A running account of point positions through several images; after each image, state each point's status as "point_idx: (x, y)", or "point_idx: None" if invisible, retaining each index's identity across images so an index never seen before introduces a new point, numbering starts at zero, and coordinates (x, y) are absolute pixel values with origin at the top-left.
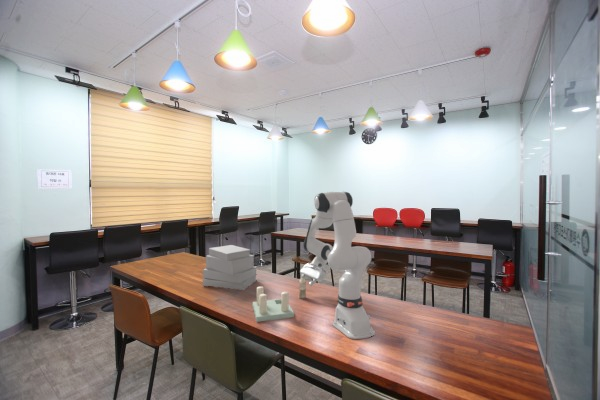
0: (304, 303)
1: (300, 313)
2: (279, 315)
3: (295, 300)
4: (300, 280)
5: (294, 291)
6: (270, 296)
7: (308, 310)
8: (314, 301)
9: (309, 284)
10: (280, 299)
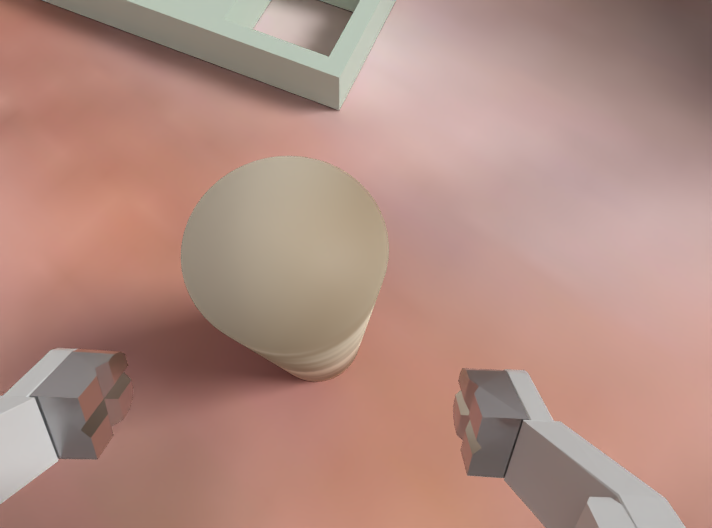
0: (168, 244)
1: (31, 72)
2: None
3: None
4: (277, 165)
5: (579, 395)
6: (572, 84)
7: (6, 164)
8: None
9: (90, 350)
10: (349, 25)
